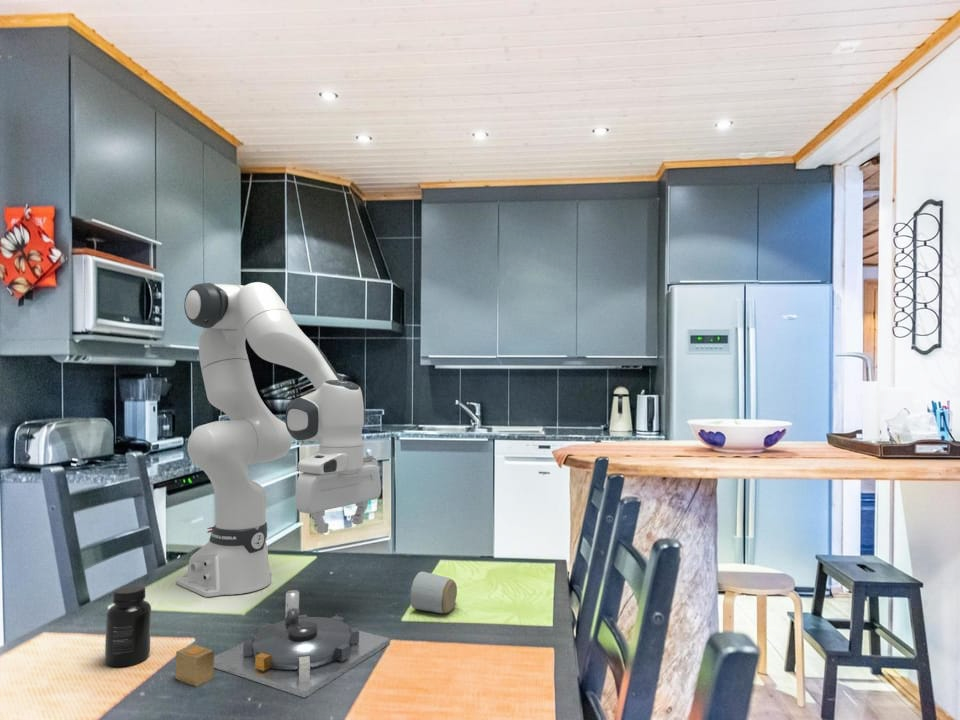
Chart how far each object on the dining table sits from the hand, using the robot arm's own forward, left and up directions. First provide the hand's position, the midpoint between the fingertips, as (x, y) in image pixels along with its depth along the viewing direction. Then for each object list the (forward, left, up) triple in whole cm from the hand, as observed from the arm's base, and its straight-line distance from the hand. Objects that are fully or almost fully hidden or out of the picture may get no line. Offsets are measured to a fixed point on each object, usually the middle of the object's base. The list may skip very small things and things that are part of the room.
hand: (340, 528), depth 125 cm
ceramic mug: (+13, +16, -19) cm, 28 cm away
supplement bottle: (-21, -31, -19) cm, 42 cm away
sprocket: (+4, -15, -17) cm, 23 cm away
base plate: (+4, -15, -19) cm, 24 cm away
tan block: (-5, -30, -19) cm, 36 cm away
